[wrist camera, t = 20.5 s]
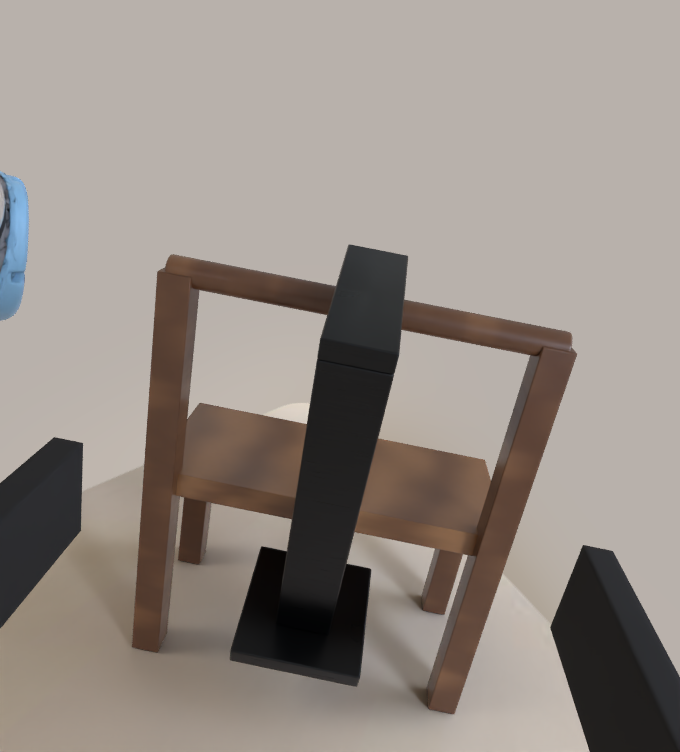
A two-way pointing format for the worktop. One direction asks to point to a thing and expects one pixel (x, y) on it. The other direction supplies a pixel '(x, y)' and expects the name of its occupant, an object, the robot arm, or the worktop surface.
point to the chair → (387, 473)
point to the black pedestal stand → (331, 487)
